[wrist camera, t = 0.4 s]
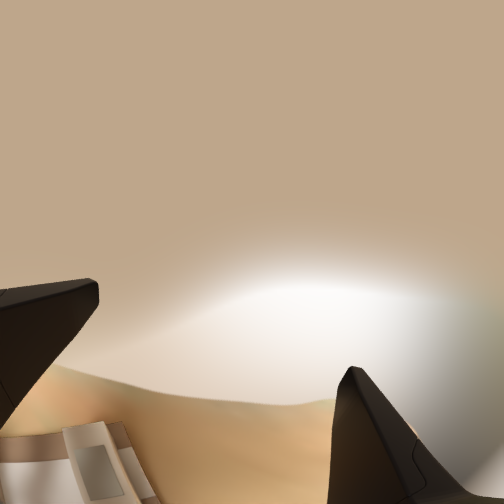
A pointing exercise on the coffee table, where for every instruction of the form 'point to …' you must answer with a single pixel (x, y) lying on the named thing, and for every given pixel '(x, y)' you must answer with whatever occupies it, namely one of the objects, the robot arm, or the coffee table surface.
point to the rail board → (73, 468)
